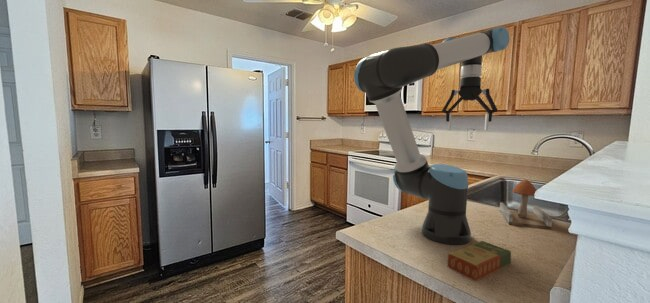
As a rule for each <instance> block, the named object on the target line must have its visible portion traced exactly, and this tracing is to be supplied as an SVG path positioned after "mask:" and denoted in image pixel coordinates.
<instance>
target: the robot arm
mask: <svg viewBox="0 0 650 303" xmlns="http://www.w3.org/2000/svg"><path fill="white" fill-rule="evenodd" d="M509 43H510V32H509V30H508V29H507V28H506V27H504V26H498V27H493V28H491V29H487V30H484V31H480V32H477V33H476V32H475V33H473V34H469V35H466V36H465V35H464V36H461V37H447V38H445V39H444V40H443V41H442V42H438V43H436V44H435V43H434V44H431V43H428V42H427V43H421V44H416V45H407V46H399V47H393V48H389V49H388V50H384V51H380V52H378V53H372V54H369V55H368V56H366V57H364V58H362V59H360V60H359V62H358V63H357V65H356V67H355V69H354V74H353V79H354V83H355V86H356V88H357V89H358V90H359V91H361V92H362V93H366V94H365V95H366V97H367V99H368V101H369V102H370V103H372V104H374V105H375V107H376V110H377V113H378V115H379V118H380V121H381V123H382V126H383V129H384V131H385V134H386V136H387V139H388V142H389V145H390V148H391V150H392V153H393V154H394V158H395V160H396V163H395V165H394V170H393V175H392V179H393V184H394V186H395V187H396V188H397V189H398V190H399V191H400V192H402V193H405V194H406V195H411V196H414V197H417V198H420V199H424V200H427V201H428V206H427V207H428V210H427V213H426V216H425V218H424V220H423V223H422V226H421V234H422V235H423V236H424V237H425V238H427V239H429V240H431V241H433V242H436V243H441V244H447V245H464V244H468V243H469V242H470V241H471V238H472V237H471V236H472V232H471V228H470V225H469V221H468V218H467V202H468V189H469V176H468V173H467V171H466V170H465V169H463V168H461V167H458V166H455V165H451V164H444V163H434V164H431V166H429V162H428V160H427V157H426V156H425V155H424V154H423V155H422V154H421V153H420V149H419V146H418V144H417V141H416V139H415V135H414V132H413V130H412V127H411V123H410V121H409V119H408V118H409V117H408V115H407V111H406V109H405V106H404V104H403V101H402V97H401V92H402V91H403V88H404V87H405V86H409V85H411V84H413V83H416V82H418V81H420V80H423V79H425V78H428V77H432V76H433V75H434V74H436V73H437V71H438V70H442V69H444V68H448V67H450V66H454V65H456V64H459V63H460V77H461V78H460V79H459V89H458V90H455V89H452V90H451V91H450V96H449V98H448V100H447V101H446V102H445V105H444V106H443V108H442V109H441V112H442V113H444V114H445V115H446V116H445V121H446V123H447V122H448V131H449V130H452V111H453V110H454V109H455V108H457V106H458V105H459V104H460V103H461V102H462V101H465V102H466V101H475V100H476V102H478V104H479V105H480V106H481V107H482V108H483V109H484V111H485V112H487V113H485V118H484V119H485V120H484V131H489V122H492V121H493V120H492V118H493V117H492V116H493V114H494V113H497V112H498V111H499V110H498V108H497V106H496V104H495V102H494V100H493V98H492V96H491V94H490V88H485V89H481V85H482V83H481V82H482V78H481V76H482V69H483V68H482V67H483V66H482V64H483V56H484V55H487V54H491V53H497V52H499V51H504V50H505V49H506V48H507V47H508V45H509ZM481 93H482V94H483V95H484V96H485V98H486V100H487V102H488V104H489V106H490V107H489V106H488V105H487V104H486V103H485V102H484V101H483V99H482V98H481V97H480V95H481ZM456 95H459V96H460V97H459V98H458V99H457V100H455V102H454V103H453V104H452V105H451V106H450V103H451V102H452V100H454V99H453V98H455V97H454V96H456ZM449 106H450V107H449ZM448 107H449V109H448ZM447 109H448V110H447Z"/></svg>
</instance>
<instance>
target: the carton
mask: <svg viewBox="0 0 650 303" xmlns="http://www.w3.org/2000/svg"><path fill="white" fill-rule="evenodd" d="M511 262H512V252H511V250H510V249H509V250H508V249H506V248H503V247H501V246H497V245H494V244H492V243H489V242H487V241H484V240H481V241H479V242H475V243H473V244H470V245H468V246H465V247H463V248H460V249H458V250H455V251H452V252H451V251H450V252H449V253H448V254H447V267H448V268H449V269H452V270H453V271H456V272H457V273H460V274H462V275H463V276H465V277H467V278H470V279H471V280H474V281H475V282H477V281H479V280H482V279H484V278H486V277H488V276H490V275H492V274H494V273H496V272H497V271H498V272H499V271H500V270H502V269H504V268H506V267H508V266H511V264H512V263H511Z"/></svg>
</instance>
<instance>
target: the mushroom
mask: <svg viewBox="0 0 650 303" xmlns="http://www.w3.org/2000/svg"><path fill="white" fill-rule="evenodd" d="M535 191H537V189H536V187H535V186H534V184H533V183H532V182H530V181H529V180H527V179H523V180H521V181H519V182H518V183H517V184H516V185H515V186H514V187H513V189H512V192H513V193H514V194H515V195H516V194H517V195H521V200H520V205H519V207H518V210H517V211H518V217H521V218H526V216H527V212H528V200H529V196H530V197H533V196H534V193H535Z"/></svg>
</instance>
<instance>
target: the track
mask: <svg viewBox="0 0 650 303" xmlns="http://www.w3.org/2000/svg"><path fill="white" fill-rule="evenodd" d="M498 211H499V213H500V215H501V216H502V217H503V218H504V220H505V221H506V223H507V224H508V225H510V226H519V227H527V228H529V227H530V228H535V229H536V228H537V229H544V230H546V229H547V230H552V225H553V218H552V217H551V216H550V215H548V213H546V212H545V211H544V210H543V209H542V208H540V207H539V206H538V205H536V204H535V205H533V212H531V211H527V216H526V218H521V217H518V210H510V209H509V208H508V207H507V206H506V204H505V203H504V202H502V201H501V202H499V210H498Z"/></svg>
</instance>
